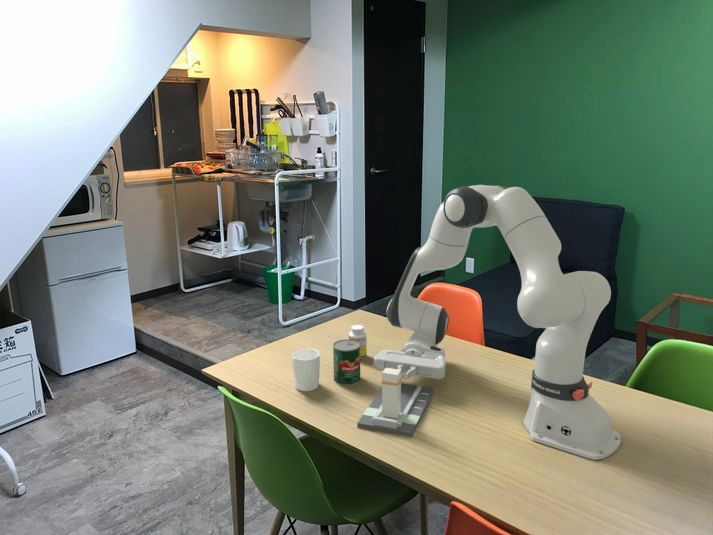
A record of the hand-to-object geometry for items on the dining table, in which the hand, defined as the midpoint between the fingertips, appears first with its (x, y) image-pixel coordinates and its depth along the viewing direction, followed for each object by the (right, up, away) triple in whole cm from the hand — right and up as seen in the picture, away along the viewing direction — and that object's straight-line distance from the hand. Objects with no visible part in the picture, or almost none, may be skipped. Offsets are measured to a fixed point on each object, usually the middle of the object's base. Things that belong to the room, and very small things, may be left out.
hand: (402, 376), depth 155 cm
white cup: (-27, -5, +11) cm, 29 cm away
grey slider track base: (-1, -8, -2) cm, 9 cm away
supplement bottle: (-12, +1, +29) cm, 32 cm away
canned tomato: (-15, -4, +14) cm, 21 cm away
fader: (-4, -8, -8) cm, 12 cm away
